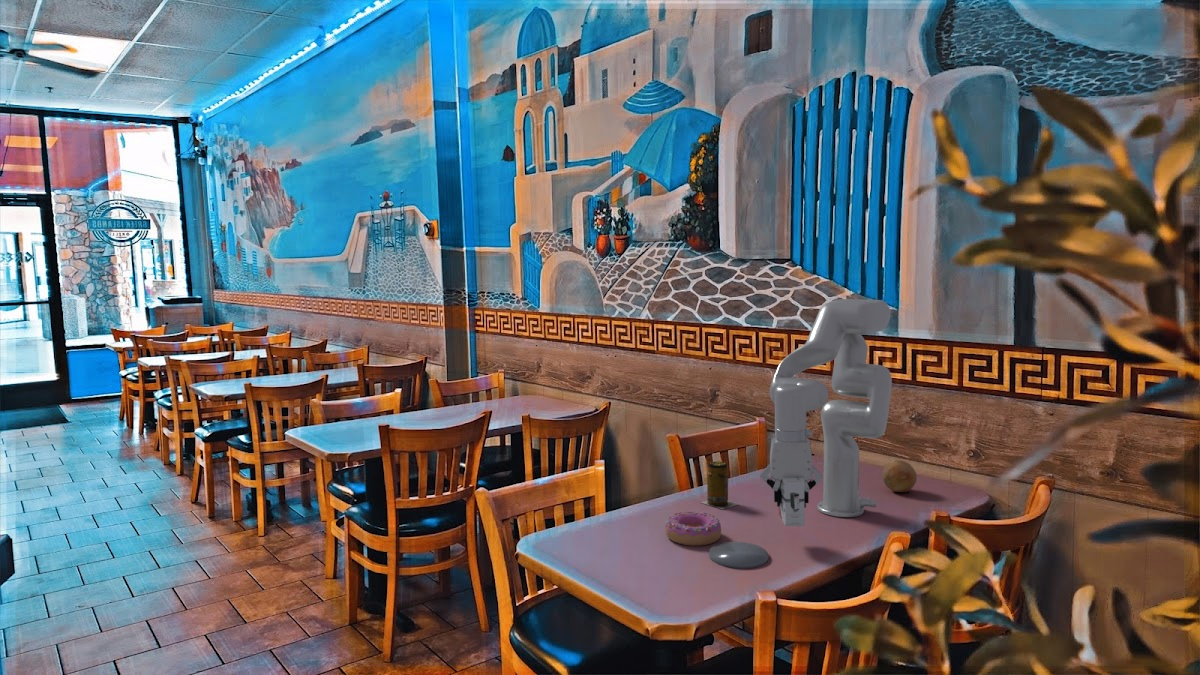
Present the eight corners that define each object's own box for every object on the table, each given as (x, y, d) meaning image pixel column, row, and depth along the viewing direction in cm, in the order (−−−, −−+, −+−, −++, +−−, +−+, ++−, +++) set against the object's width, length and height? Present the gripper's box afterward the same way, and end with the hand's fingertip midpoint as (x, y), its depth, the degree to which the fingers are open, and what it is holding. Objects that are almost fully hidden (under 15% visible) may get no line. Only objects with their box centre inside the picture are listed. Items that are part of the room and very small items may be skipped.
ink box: (778, 514, 192) (777, 469, 191) (797, 513, 192) (796, 468, 191) (785, 527, 184) (784, 480, 182) (805, 526, 184) (805, 480, 182)
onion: (923, 494, 227) (924, 461, 226) (898, 498, 223) (899, 465, 222) (899, 485, 236) (900, 454, 235) (874, 489, 232) (875, 457, 231)
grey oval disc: (768, 547, 187) (768, 543, 187) (768, 570, 173) (768, 566, 173) (711, 543, 190) (711, 540, 190) (707, 565, 176) (707, 561, 176)
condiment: (717, 497, 227) (717, 458, 225) (738, 504, 220) (739, 464, 219) (700, 503, 222) (700, 463, 221) (722, 510, 215) (722, 469, 214)
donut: (716, 550, 186) (716, 531, 185) (660, 545, 190) (660, 525, 190) (724, 530, 200) (724, 512, 199) (671, 525, 204) (671, 507, 203)
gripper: (825, 431, 187) (826, 501, 189) (755, 430, 191) (756, 498, 193) (828, 439, 180) (828, 512, 182) (754, 438, 183) (755, 509, 186)
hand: (791, 504), depth 188 cm, fingers closed on ink box, 5 cm apart
